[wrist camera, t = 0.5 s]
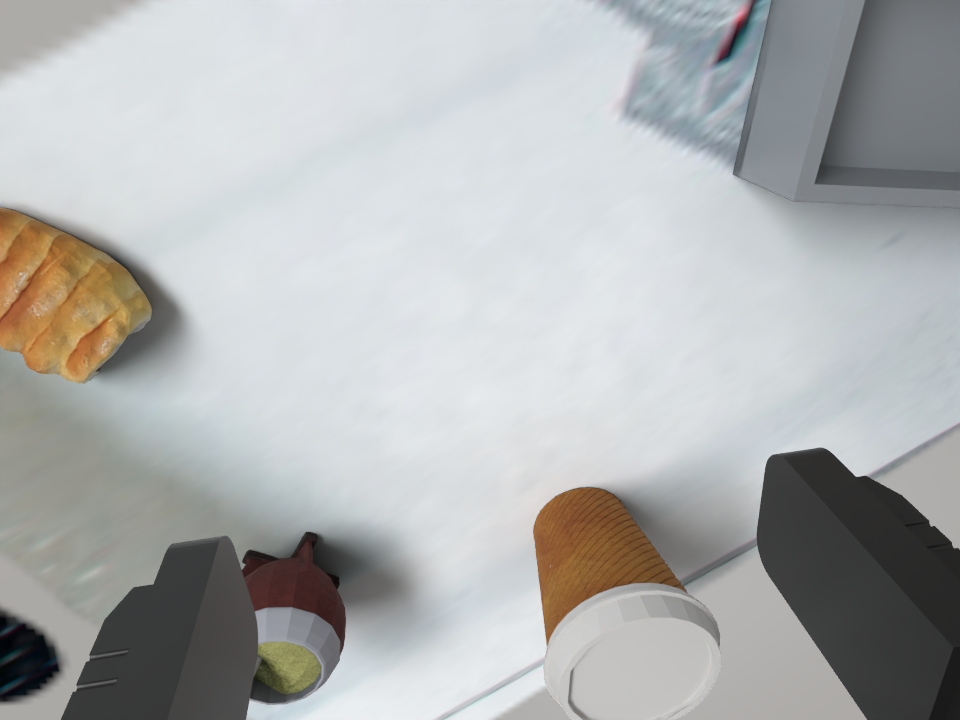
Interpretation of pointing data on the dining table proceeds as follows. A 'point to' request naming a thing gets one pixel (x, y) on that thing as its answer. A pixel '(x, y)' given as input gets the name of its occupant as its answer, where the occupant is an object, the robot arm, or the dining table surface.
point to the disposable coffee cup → (617, 616)
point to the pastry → (63, 299)
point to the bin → (857, 103)
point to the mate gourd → (293, 623)
